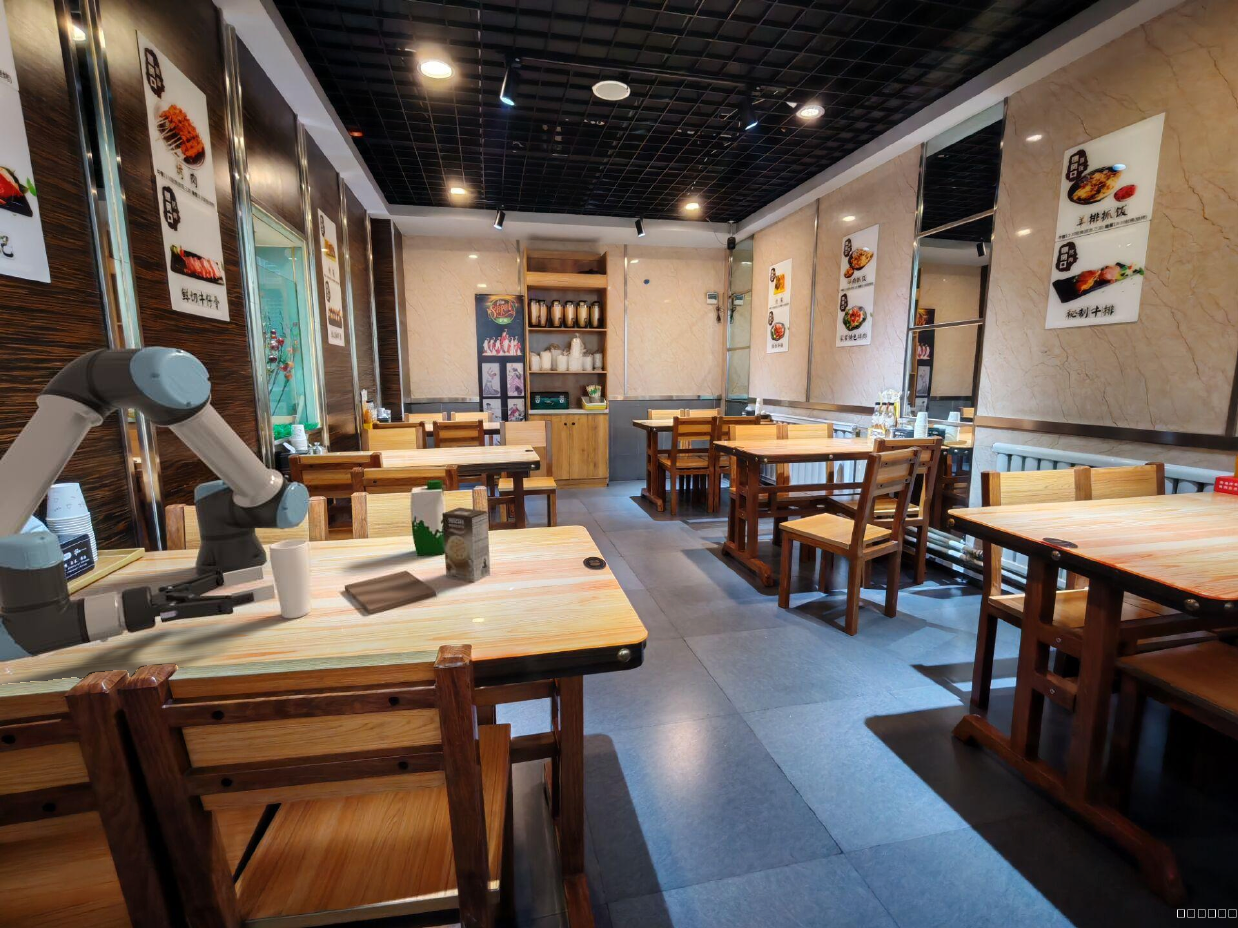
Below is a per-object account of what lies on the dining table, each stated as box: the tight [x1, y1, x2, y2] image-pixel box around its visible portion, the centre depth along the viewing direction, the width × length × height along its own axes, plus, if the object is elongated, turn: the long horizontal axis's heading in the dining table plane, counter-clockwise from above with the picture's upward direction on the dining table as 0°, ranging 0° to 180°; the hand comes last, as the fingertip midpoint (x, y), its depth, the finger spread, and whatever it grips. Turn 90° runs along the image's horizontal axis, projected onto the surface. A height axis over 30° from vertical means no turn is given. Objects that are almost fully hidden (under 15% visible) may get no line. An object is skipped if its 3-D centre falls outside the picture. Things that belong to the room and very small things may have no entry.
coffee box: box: [442, 507, 491, 583], centre depth 130 cm, size 9×6×16 cm
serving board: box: [344, 570, 437, 615], centre depth 121 cm, size 18×14×1 cm
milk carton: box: [410, 479, 447, 558], centre depth 149 cm, size 9×9×20 cm
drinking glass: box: [269, 538, 312, 619], centre depth 110 cm, size 7×7×15 cm
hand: (268, 580), depth 107 cm, fingers open, 13 cm apart
